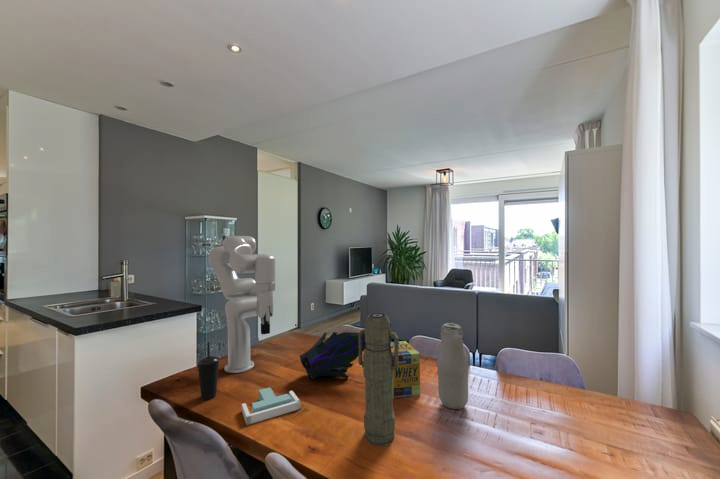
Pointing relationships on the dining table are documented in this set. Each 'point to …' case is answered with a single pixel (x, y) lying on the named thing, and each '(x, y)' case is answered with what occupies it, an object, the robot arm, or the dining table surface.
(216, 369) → the drinking cup
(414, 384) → the protein box
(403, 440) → the dining table surface
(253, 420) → the dock
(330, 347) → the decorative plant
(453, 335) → the pale grey bottle
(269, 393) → the t block
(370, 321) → the thermos
